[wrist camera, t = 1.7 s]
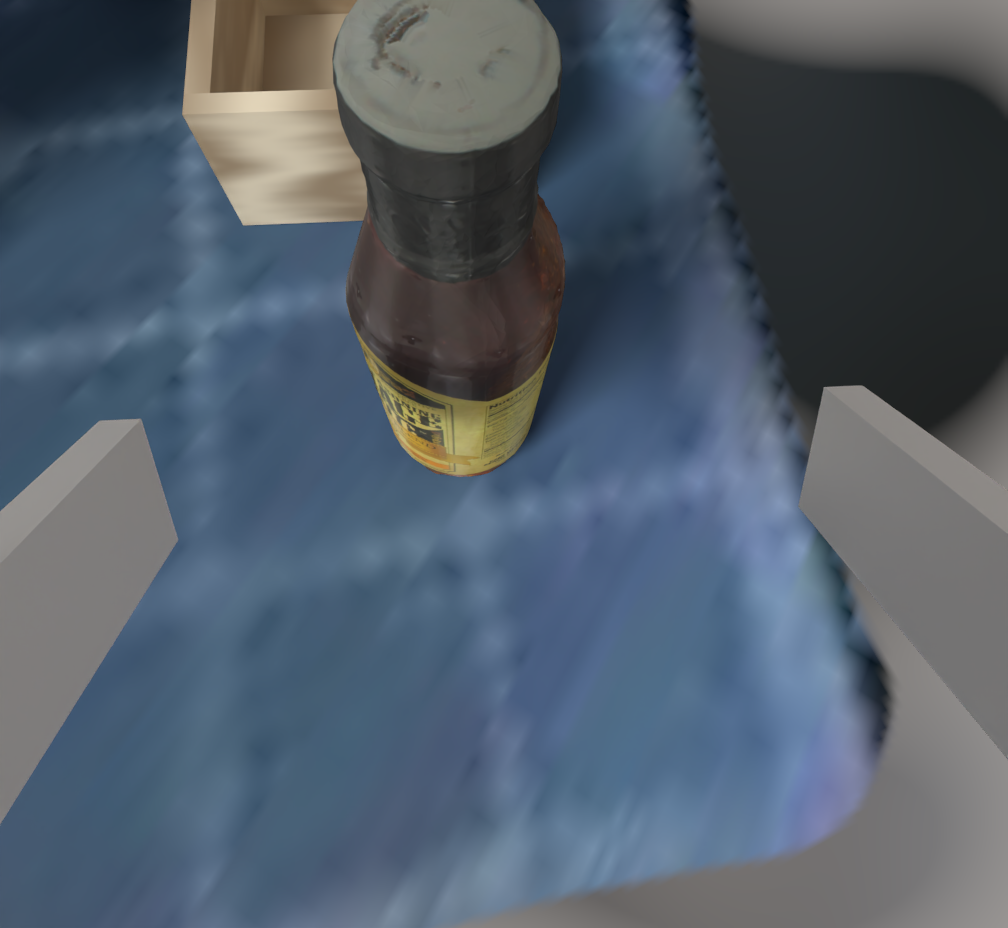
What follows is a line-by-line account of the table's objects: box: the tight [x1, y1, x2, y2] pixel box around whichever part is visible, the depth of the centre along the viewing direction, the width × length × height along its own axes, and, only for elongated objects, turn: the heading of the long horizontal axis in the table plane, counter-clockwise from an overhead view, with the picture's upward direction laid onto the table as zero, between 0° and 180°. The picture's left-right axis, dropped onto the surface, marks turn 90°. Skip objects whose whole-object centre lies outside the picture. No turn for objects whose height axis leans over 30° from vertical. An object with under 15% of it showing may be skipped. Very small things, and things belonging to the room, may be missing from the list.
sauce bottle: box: [332, 0, 565, 477], centre depth 21 cm, size 7×6×20 cm
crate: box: [182, 0, 368, 225], centre depth 32 cm, size 13×13×7 cm
